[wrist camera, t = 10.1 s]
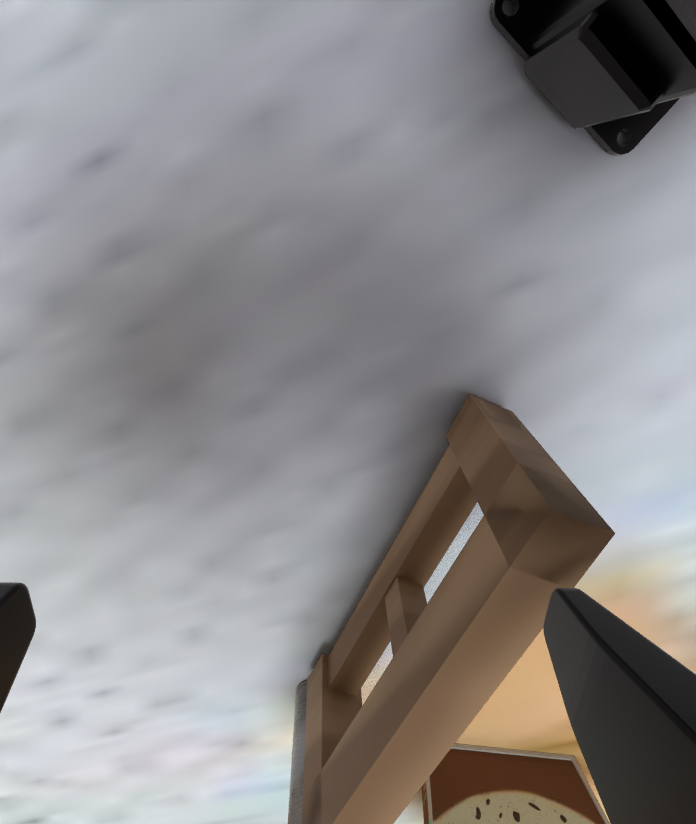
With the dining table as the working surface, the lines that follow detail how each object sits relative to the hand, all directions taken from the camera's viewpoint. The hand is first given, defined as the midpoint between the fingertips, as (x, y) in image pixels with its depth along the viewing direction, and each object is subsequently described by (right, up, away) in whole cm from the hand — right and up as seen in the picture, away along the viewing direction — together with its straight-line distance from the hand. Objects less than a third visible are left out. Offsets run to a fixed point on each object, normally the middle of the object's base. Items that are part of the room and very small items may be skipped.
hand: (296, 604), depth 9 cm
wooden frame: (+3, -4, +15) cm, 15 cm away
